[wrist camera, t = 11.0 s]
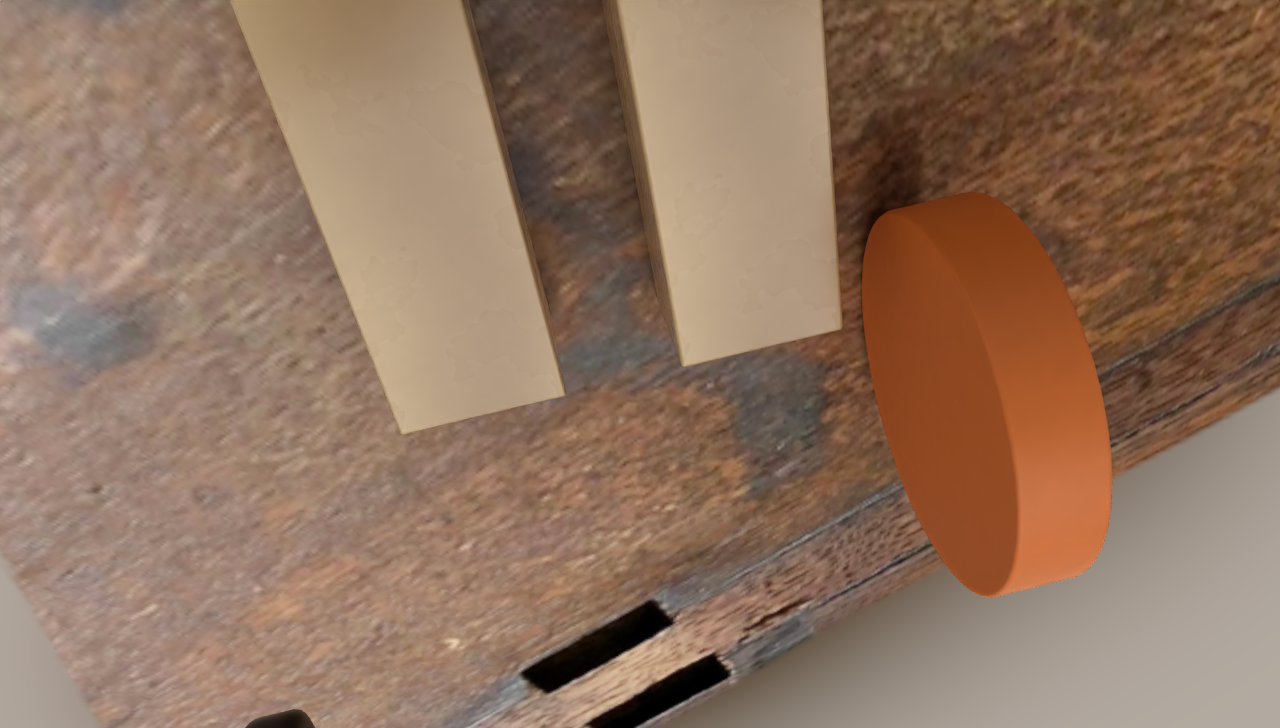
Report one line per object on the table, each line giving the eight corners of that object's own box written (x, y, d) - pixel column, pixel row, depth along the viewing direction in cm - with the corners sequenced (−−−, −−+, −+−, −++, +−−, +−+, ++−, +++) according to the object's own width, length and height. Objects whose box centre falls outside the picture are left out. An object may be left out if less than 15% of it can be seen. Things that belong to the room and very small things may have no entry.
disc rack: (403, 358, 20) (400, 436, 18) (190, -217, 14) (151, -196, 12) (803, 263, 21) (844, 330, 19) (751, -335, 15) (803, -333, 13)
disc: (862, 415, 23) (1000, 679, 18) (858, 140, 19) (1038, 381, 14) (926, 400, 24) (1082, 658, 18) (936, 121, 19) (1147, 355, 14)
